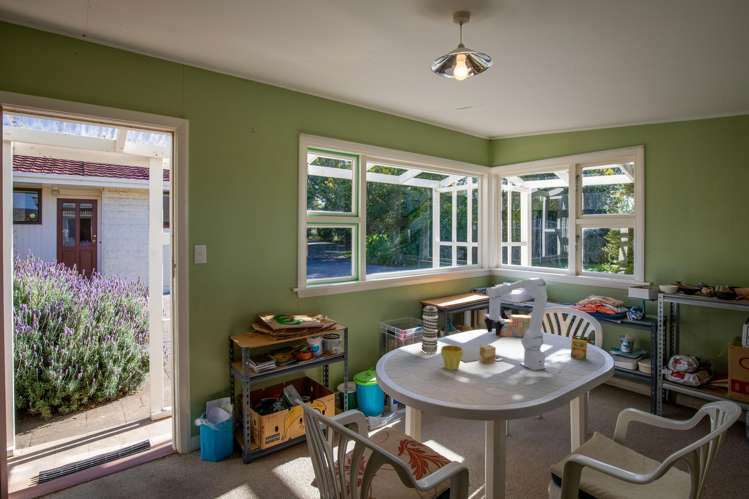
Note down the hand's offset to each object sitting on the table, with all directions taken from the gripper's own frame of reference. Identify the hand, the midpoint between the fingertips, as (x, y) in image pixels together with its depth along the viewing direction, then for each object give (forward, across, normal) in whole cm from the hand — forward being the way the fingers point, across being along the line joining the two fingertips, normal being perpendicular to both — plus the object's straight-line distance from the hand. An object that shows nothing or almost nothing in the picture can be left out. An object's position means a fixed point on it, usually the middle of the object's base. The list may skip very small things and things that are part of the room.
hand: (493, 333), depth 229 cm
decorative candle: (+11, +14, +32) cm, 37 cm away
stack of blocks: (+11, +21, -34) cm, 41 cm away
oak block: (+10, -11, +13) cm, 20 cm away
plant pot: (+11, -10, +34) cm, 38 cm away
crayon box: (+11, -25, -36) cm, 45 cm away
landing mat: (+10, +2, +13) cm, 17 cm away
